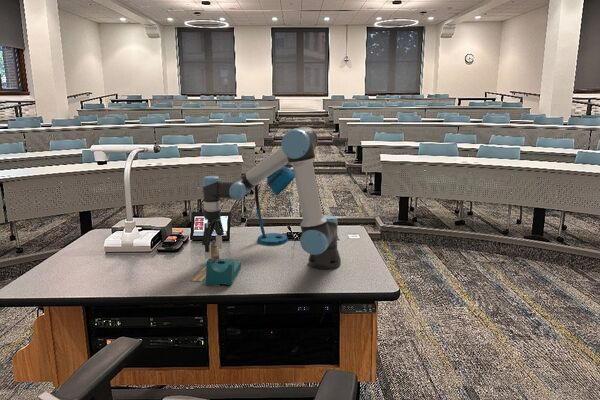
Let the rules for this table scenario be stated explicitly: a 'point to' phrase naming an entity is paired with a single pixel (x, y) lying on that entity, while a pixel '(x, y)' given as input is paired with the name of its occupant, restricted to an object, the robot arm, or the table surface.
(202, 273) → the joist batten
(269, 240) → the desk lamp
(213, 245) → the awl
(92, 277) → the table surface
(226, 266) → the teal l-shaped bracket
